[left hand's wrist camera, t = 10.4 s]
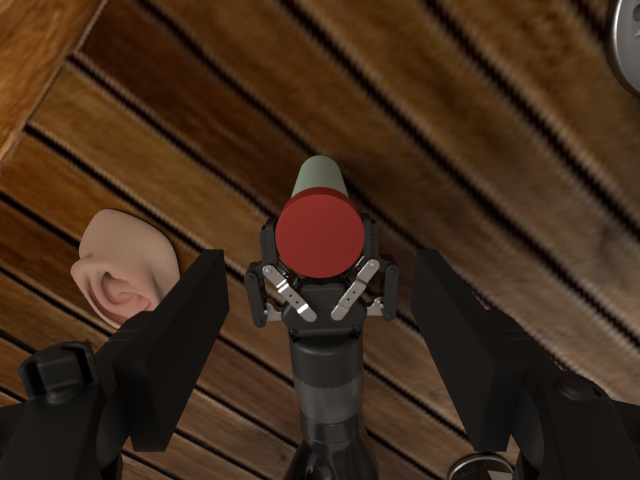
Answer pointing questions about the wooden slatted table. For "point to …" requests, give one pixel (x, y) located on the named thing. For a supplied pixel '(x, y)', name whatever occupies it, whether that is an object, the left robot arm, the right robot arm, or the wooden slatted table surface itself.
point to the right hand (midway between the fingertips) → (317, 218)
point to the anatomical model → (124, 266)
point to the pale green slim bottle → (320, 175)
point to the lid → (319, 232)
